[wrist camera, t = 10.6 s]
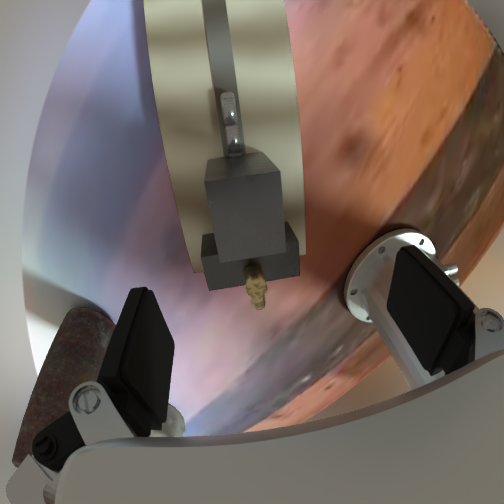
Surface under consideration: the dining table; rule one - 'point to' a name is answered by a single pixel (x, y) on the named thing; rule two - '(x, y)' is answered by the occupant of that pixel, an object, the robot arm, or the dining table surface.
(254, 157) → the dark grey block
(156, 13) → the rail board
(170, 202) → the dining table surface
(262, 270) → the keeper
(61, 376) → the candle
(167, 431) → the ceramic sculpture
